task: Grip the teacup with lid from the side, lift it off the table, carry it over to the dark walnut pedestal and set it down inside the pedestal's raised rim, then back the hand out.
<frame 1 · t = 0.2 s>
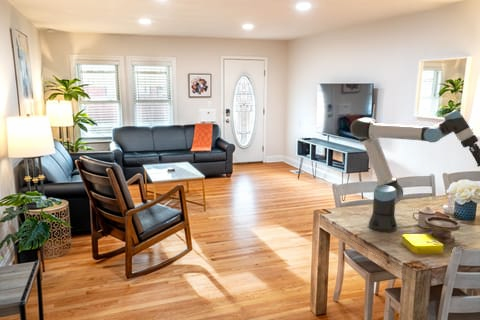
teacup with lid: (423, 225, 217), on the table
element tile: (421, 248, 188), on the table
walnut pedestal: (440, 237, 199), on the table
figurine: (449, 212, 239), on the table
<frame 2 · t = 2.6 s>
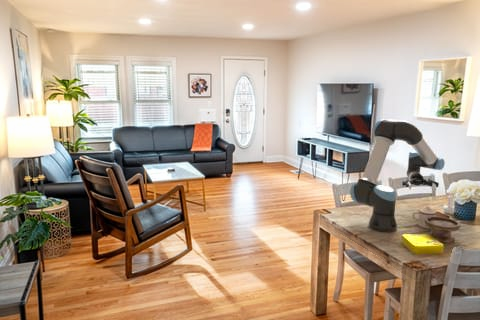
hand: (422, 187, 222), 20 cm above the table, tool horizontal, fingers open, 13 cm apart
nothing on the table moved.
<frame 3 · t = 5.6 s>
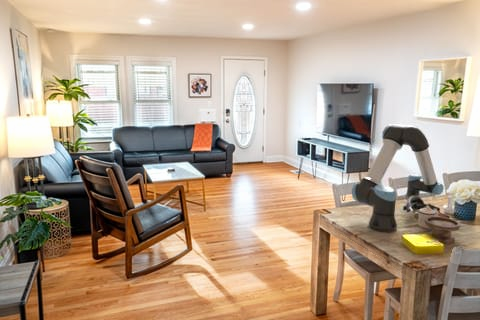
hand: (424, 213, 217), 7 cm above the table, tool horizontal, fingers open, 13 cm apart
teacup with lid: (423, 225, 217), on the table, touching gripper
everything else where it was.
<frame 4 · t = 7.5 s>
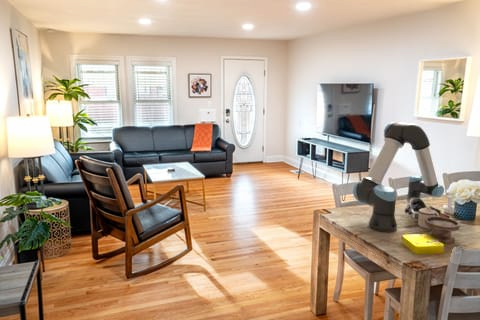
hand: (426, 216, 212), 7 cm above the table, tool horizontal, fingers closed on teacup with lid, 12 cm apart
teacup with lid: (423, 225, 217), on the table, touching gripper
everything else where it was.
when the fingers open (16 cm above the table, at t = 13.1 s): teacup with lid drops 1 cm, resting on walnut pedestal.
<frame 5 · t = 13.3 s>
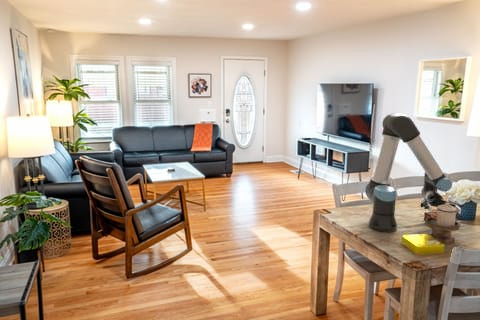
hand: (445, 210, 193), 16 cm above the table, tool horizontal, fingers open, 13 cm apart
teacup with lid: (442, 224, 198), point 8 cm above the table, touching walnut pedestal
everything else where it was.
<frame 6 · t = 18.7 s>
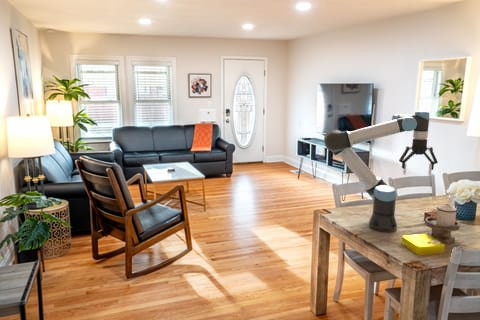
hand: (416, 174, 218), 29 cm above the table, tool pointing down, fingers open, 13 cm apart
nothing on the table moved.
at the end: teacup with lid inside the target area on the walnut pedestal (0.0 cm from its centre), point 7.6 cm above the walnut pedestal's base; teacup with lid tilted 0°; the gripper is holding nothing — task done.
